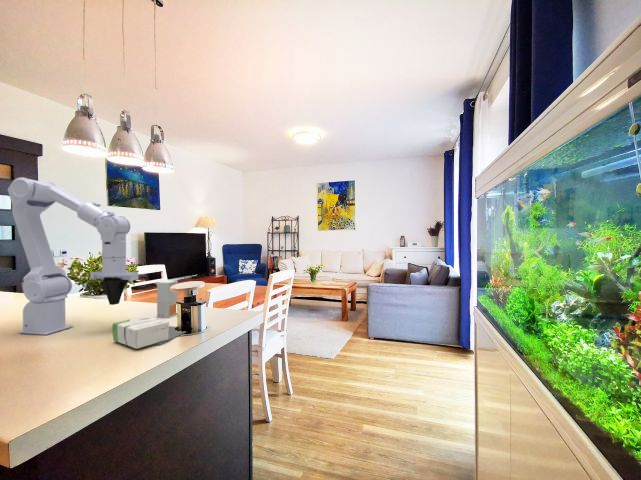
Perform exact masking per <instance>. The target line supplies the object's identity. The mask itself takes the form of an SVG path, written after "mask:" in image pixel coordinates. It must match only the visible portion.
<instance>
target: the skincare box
mask: <svg viewBox="0 0 641 480" xmlns="http://www.w3.org/2000/svg"><path fill="white" fill-rule="evenodd" d="M178 281H179V280H176V279H175V280H171V279H166V280H162V281H159V282H157V283H156V289H157V290H156V318H167V319H169V318H170V317H173V316H174V315H177V314H176V302H177V301H178V300H179V299H178V297H179V295H178V293H176V292H173V291H171V290H170V287H171V286H172V285H175V284H179V282H178ZM178 302H179V301H178Z"/></svg>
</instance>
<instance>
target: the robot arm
mask: <svg viewBox="0 0 641 480" xmlns="http://www.w3.org/2000/svg"><path fill="white" fill-rule="evenodd" d="M7 193H8V197H9V198H10V201H11V206H12V207H11V212H12V216H13V218H14V219H13V220H14V222H15V225H16V228H17V232H18V235H19V239H20V241H21V244H22V247H23V251H24V254H25V256H26V259H27V262H28V263H27V264H28V266H29V269H30V271H28V273H27V274H26V275H25V276H24V277H23V278H22V281H23V282H24V283H23V284H24V285H23V294H24V296H25V298H26V299H27V300H28V302H27V303H26V304H25V305H24V307H23V309H22V330H19V333H20V334H30V335H31V334H32V335H41V336H42V335H45V336H47V335H50V334H54V333H57V332H60V331H64V330H67V329H71V328H73V327H74V325H73V324H66V299H67V298H68V294H69V293H70V292H71V291H72V290H73V289H72V288H73V282H72V280H71V278H69V277H68V276H67V274H66V271H65V270H64V269H63V268H61V267H59V266H58V265H56V263H55V259H54V256H53V253H52V249H51V248H50V243H49V240H48V237H47V235H46V232H45V228H44V225H43V222H42V219H41V214H42V213H43V212H45V211H47V210H48V209H49V208H50V207H51V206H53V205H55V203H57V204H60V205H62V206H64V207H66V208H68V209H69V210H72V211H73V212H75V213H77V218H78V219H80V220H82V221H83V222H85V223H87V224H88V225H90V226H92V227H94V228H96V230H97V232H98V233H99V235H100V240H101V242H102V244H101V249H102V251H101V253H102V254H101V256H102V258H101V259H102V260H101V262H102V265H101V266H102V267H101V271H91V272H90V278H89V279H91V280H93V279H98V280H99V279H102V280H100V281H99V285H100V286H101V287H102V289H103V290H104V292H105V295H106V297H107V300H108V303H109V304H108V305H113V306H114V305H118V304H120V301H121V298H122V294H123V292H124V290H125V287H126V286H127V284H128V283H129V280H130V281H136V280H139V277H140V276H139V275H140V274H139V272H133V271H132V272H131V271H128V270H127V235H128V233H129V232H130V230H131V223H130V221H129V220H128V219H127V218H126V217H125V216H122V215H117V216H116V215H115V212H114V211H112V210H107V209H105V208H103V207H101V204H102V203H101V204H100V203H99V202H97V201H95V202H94V201H93V202H92V201H88V202H84V201H83V200H81V199H80V198H78V197H77V196H75V195H73V194H72V193H71V192H69V191H67V190H65V189H64V188H63V187H62V186H60V185H58V184H55V183H53V182H45V181H40V180H35V179H29V178H27V177H24V176H23V177H17V178H15V179H14V180H13V181H12V182H11V184H10V185H9V186H8V188H7Z"/></svg>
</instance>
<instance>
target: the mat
mask: <svg viewBox="0 0 641 480" xmlns="http://www.w3.org/2000/svg"><path fill="white" fill-rule="evenodd" d="M176 327H177V326H172V325H171V326H170V325H169V339H168V340H165V341H162V342H158V343H155V344H151V346H162V345H164V344H166V343H168V342H170V341H172V340H175V339H176V338H178V337H179V336H182V335H184V334H186V333H187V332H186V331H183V332H182V331H177V330H175V328H176Z"/></svg>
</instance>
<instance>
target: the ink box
mask: <svg viewBox="0 0 641 480" xmlns="http://www.w3.org/2000/svg"><path fill="white" fill-rule="evenodd" d="M169 323H170V322H169V321H166V320H162V319H157V318H155V317H150V316H145V315H144V316H141V317H136V318H135V317H134V318H131V319H125V320H122V321H118V322H113V323H112V338H113V339H112V340H113V341H114V342H117V343H119V344H123V345H125V346H128V347H131V348H133V349H135V350H137V349H141V348H145V347H147V346H150V345H151V344H155V343H158V342H162V341H165V340H168V339H169V326H170V324H169ZM151 346H152V345H151Z"/></svg>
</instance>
